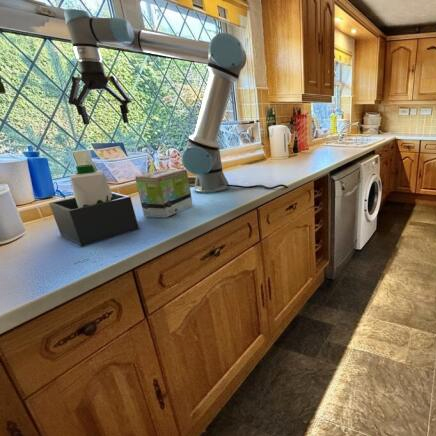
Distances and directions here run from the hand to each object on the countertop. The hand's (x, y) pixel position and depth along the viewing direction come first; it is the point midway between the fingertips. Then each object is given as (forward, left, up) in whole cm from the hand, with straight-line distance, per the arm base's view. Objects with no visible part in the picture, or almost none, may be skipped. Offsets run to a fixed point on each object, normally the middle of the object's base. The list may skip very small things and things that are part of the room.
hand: (106, 123), depth 115 cm
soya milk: (-6, +35, -31) cm, 47 cm away
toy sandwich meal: (-22, -27, -32) cm, 47 cm away
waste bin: (-5, +35, -32) cm, 47 cm away
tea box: (-21, +18, -32) cm, 42 cm away
